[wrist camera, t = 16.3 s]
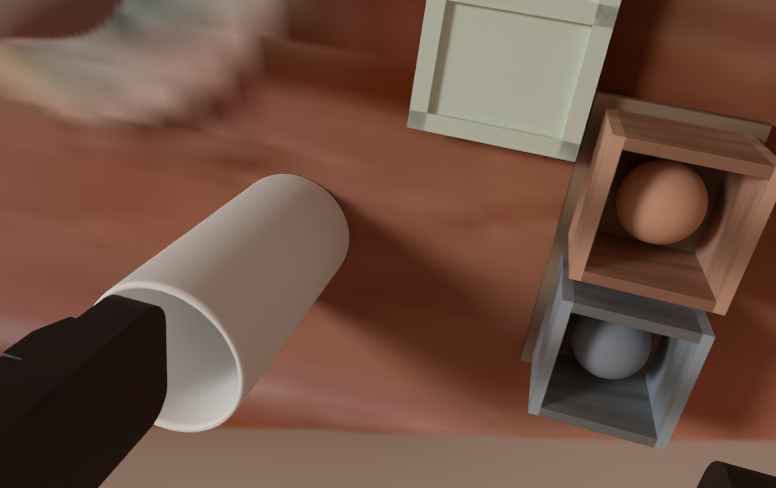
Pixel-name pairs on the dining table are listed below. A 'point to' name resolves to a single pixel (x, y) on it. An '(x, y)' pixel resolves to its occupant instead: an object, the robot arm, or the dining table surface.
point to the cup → (238, 292)
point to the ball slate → (609, 347)
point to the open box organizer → (645, 264)
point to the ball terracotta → (661, 201)
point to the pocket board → (511, 71)
